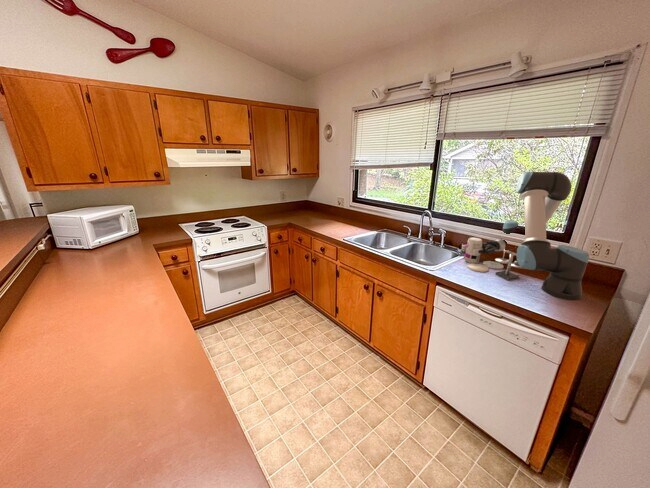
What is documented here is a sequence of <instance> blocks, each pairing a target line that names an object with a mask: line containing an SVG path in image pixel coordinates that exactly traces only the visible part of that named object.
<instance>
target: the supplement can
mask: <svg viewBox="0 0 650 488" xmlns="http://www.w3.org/2000/svg"><path fill="white" fill-rule="evenodd" d="M482 243H483V240H482V238H479V237H474V236H473V237H469V238H468V240H467V244H466V245H467V248H466V249H465V254H464V261H465V262H466V263H468V264H471V263H476V264H479V262H480V258H481V254H482V253H479V254H473V250H475V249H481V248H482Z"/></svg>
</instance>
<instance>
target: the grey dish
mask: <svg viewBox="0 0 650 488" xmlns="http://www.w3.org/2000/svg"><path fill="white" fill-rule="evenodd" d="M482 265H484V266H487V267H488V268H489V269H491V270H503V269H504V265H503V263H499V262H497V261H493V260H492V261H491V260H484V261H482Z"/></svg>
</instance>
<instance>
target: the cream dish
mask: <svg viewBox="0 0 650 488" xmlns="http://www.w3.org/2000/svg"><path fill="white" fill-rule="evenodd" d="M467 269H469V270H471V271H473V272H477V273H487V272H489V269H490V268H488V267H487V266H484V265H483V264H482V263H468V264H467Z"/></svg>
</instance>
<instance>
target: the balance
mask: <svg viewBox="0 0 650 488" xmlns="http://www.w3.org/2000/svg"><path fill="white" fill-rule="evenodd" d="M506 253H507V254H509V259H508V258H505V254H506ZM516 253H517V252H513V251H511V250H503V255H502V257H496V258H495V259H494V262H498V263H500V264H504V265H505V264H507V266H506V270H502V271H501V270H500V271H496V272H495V274H494V275H495V276H496V277H499V278H501V279H504V280H506V281H513V280H518V279H520V275H518V274H515V273H513V272H511V268H515V269H523V268H522V267H520V265H519V264H518V262H517V260H514V256H516ZM513 260H514V262H513Z"/></svg>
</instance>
